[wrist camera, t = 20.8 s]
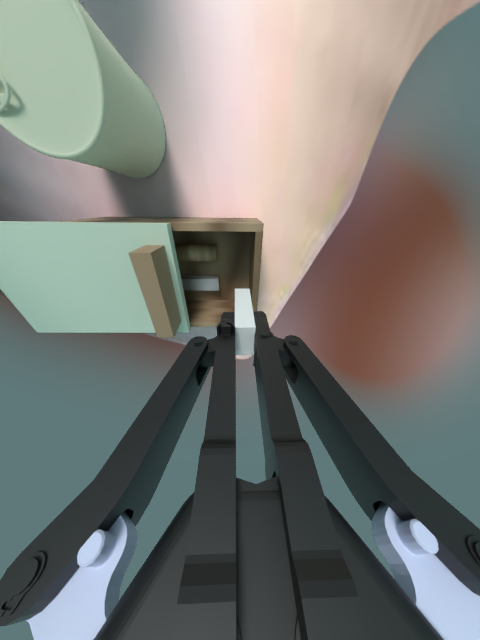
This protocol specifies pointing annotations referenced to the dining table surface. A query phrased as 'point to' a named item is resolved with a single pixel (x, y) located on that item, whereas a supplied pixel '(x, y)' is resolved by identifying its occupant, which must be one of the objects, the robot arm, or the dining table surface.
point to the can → (74, 90)
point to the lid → (94, 277)
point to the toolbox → (211, 261)
